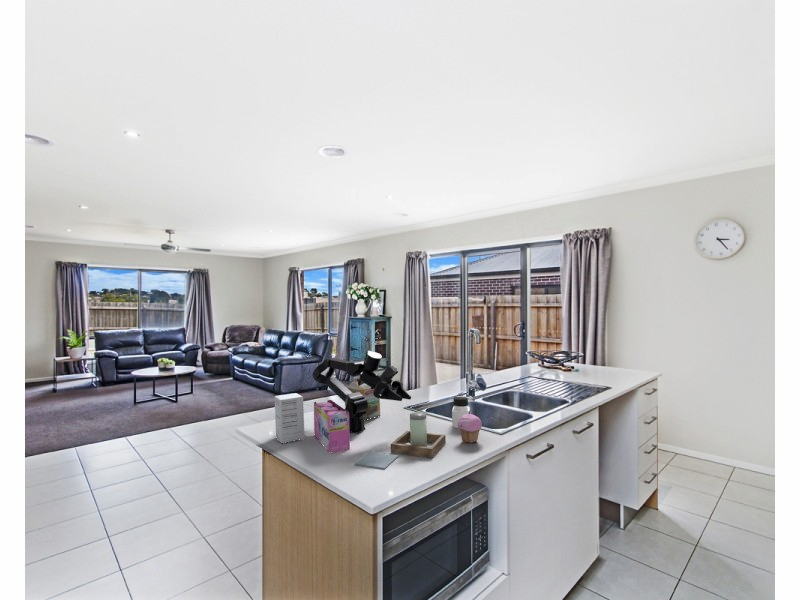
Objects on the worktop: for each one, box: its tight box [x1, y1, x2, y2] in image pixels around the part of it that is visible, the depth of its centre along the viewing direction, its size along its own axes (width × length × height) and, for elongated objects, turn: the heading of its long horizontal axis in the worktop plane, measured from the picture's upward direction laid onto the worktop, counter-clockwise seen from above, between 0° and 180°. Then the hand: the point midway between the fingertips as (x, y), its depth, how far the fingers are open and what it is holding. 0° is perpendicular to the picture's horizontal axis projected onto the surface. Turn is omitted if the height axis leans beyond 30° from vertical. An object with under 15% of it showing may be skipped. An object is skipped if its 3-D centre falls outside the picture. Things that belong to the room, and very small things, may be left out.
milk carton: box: [347, 376, 381, 421], centre depth 186 cm, size 11×11×19 cm
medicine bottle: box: [451, 395, 471, 429], centre depth 169 cm, size 7×7×12 cm
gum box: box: [313, 399, 351, 454], centre depth 153 cm, size 24×8×14 cm, turn 26°
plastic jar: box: [409, 411, 428, 447], centre depth 144 cm, size 6×6×12 cm
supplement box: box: [274, 392, 305, 444], centre depth 158 cm, size 10×9×17 cm
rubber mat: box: [353, 451, 400, 470], centre depth 133 cm, size 11×11×1 cm
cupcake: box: [458, 413, 483, 444], centre depth 149 cm, size 9×9×10 cm
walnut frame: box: [390, 430, 447, 459], centre depth 144 cm, size 15×15×3 cm
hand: (406, 399), depth 152 cm, fingers open, 9 cm apart
